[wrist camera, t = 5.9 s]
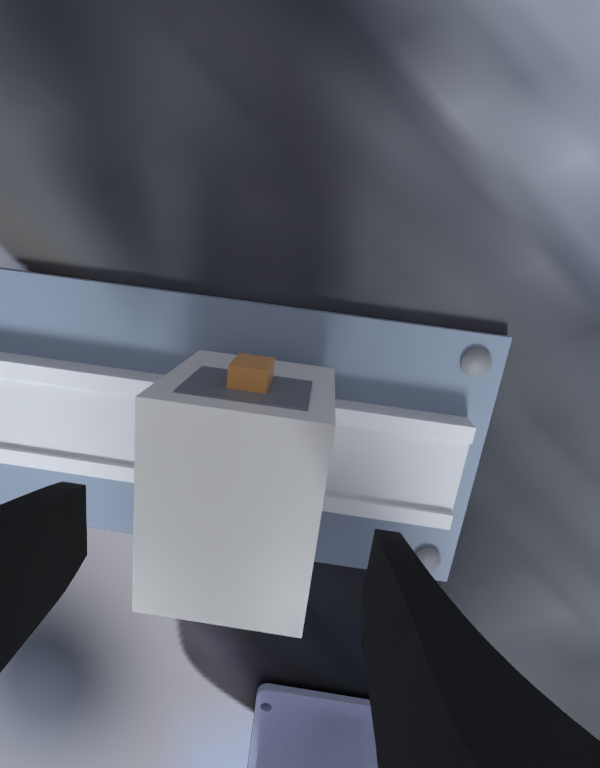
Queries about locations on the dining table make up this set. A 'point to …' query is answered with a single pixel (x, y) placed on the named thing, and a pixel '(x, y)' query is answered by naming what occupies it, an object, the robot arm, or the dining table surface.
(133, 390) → the rail panel
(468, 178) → the dining table surface
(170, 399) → the module
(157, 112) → the dining table surface
